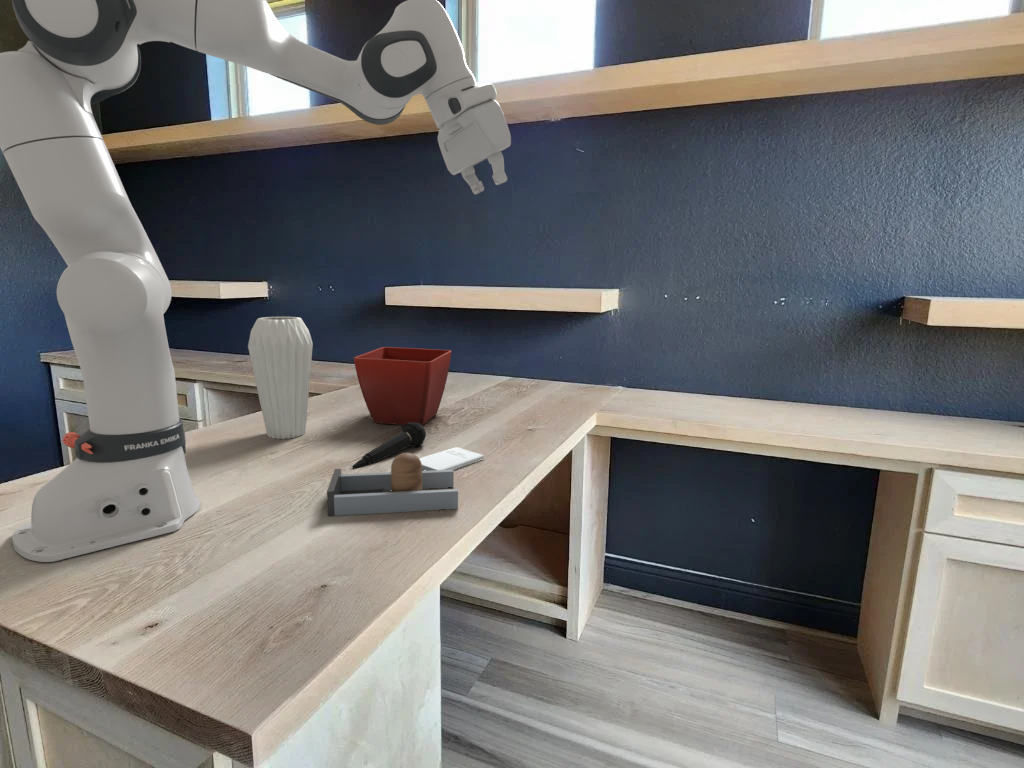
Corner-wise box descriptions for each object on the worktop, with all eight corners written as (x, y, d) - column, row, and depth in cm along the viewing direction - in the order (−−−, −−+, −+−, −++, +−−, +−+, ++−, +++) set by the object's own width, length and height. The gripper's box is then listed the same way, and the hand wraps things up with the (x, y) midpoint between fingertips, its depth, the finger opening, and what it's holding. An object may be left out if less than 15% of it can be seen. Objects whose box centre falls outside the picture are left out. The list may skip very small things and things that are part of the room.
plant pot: (430, 431, 133) (429, 361, 130) (354, 426, 136) (351, 357, 133) (452, 412, 152) (452, 349, 148) (385, 407, 155) (383, 346, 151)
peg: (406, 508, 91) (405, 460, 89) (385, 500, 94) (384, 453, 92) (428, 498, 94) (428, 452, 93) (408, 491, 97) (407, 446, 96)
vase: (312, 423, 138) (306, 315, 132) (322, 438, 126) (316, 320, 121) (252, 429, 132) (244, 316, 126) (256, 445, 120) (247, 321, 115)
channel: (328, 516, 87) (326, 491, 86) (335, 491, 97) (334, 469, 96) (458, 508, 91) (458, 485, 90) (453, 485, 100) (453, 464, 99)
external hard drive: (409, 468, 110) (455, 453, 120) (438, 478, 105) (483, 462, 114) (409, 460, 110) (454, 445, 119) (438, 470, 105) (483, 454, 114)
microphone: (362, 485, 108) (428, 446, 124) (365, 461, 105) (432, 424, 122) (341, 472, 110) (409, 435, 126) (344, 448, 108) (413, 413, 124)
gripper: (421, 130, 102) (453, 204, 107) (464, 93, 84) (500, 184, 89) (451, 118, 104) (481, 191, 109) (498, 80, 86) (532, 170, 91)
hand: (490, 188), depth 99 cm, fingers open, 8 cm apart
